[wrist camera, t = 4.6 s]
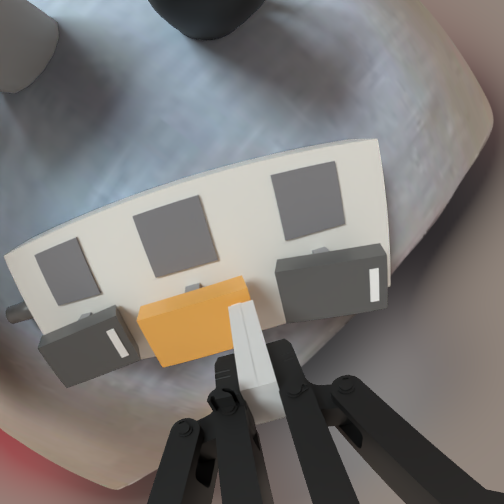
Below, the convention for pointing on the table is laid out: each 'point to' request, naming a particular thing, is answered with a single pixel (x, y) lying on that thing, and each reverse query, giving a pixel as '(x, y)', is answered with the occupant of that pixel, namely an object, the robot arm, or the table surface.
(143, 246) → the power strip
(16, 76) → the cup
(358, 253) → the rocker
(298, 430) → the robot arm
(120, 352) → the grey box
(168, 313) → the orange rectangular box
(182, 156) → the table surface
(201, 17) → the mug
